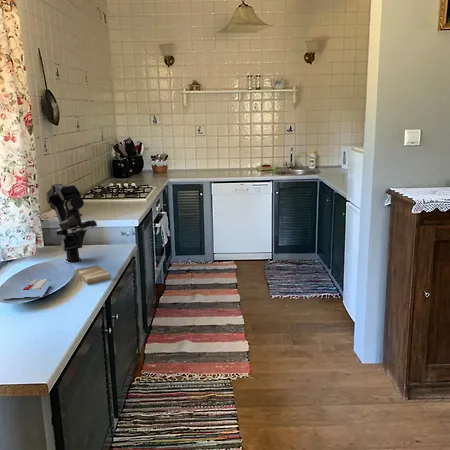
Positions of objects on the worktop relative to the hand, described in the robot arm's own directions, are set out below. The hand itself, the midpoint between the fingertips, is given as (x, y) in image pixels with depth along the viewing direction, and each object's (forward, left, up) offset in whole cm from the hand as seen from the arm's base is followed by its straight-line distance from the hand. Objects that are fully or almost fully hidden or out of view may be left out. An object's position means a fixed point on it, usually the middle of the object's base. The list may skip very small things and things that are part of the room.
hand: (80, 246), depth 211 cm
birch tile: (+9, +1, -9) cm, 13 cm away
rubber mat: (+7, +1, -11) cm, 13 cm away
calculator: (+17, -24, -11) cm, 32 cm away
